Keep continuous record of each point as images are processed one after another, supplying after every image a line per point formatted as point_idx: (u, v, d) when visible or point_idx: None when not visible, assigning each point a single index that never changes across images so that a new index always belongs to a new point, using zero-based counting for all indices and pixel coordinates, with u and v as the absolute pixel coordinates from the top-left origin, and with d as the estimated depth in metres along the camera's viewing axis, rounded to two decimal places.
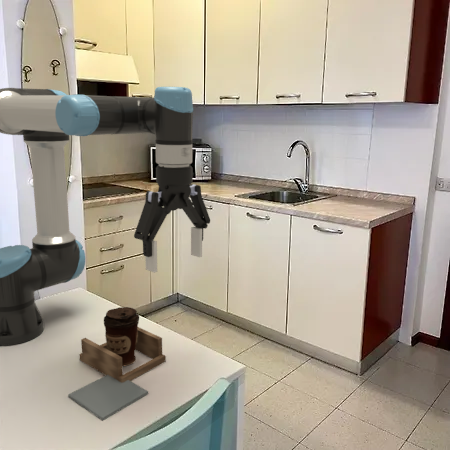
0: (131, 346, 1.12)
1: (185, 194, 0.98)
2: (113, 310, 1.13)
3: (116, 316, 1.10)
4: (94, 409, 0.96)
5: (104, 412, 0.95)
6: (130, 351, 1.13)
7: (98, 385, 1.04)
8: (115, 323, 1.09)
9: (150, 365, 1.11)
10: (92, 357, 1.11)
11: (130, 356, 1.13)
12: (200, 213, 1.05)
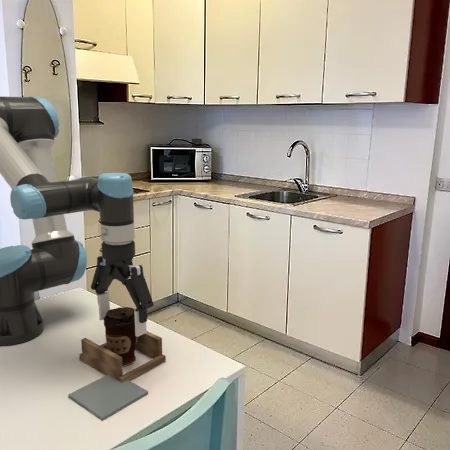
0: (131, 346, 1.12)
1: (116, 269, 1.07)
2: (113, 310, 1.13)
3: (116, 316, 1.10)
4: (94, 409, 0.96)
5: (104, 412, 0.95)
6: (130, 351, 1.13)
7: (98, 385, 1.04)
8: (115, 323, 1.09)
9: (150, 365, 1.11)
10: (92, 357, 1.11)
11: (130, 356, 1.13)
12: None
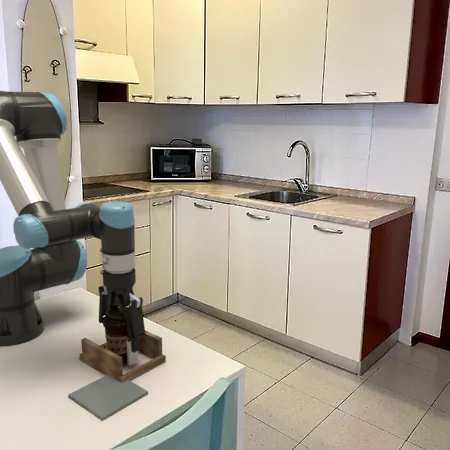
0: None
1: (117, 296, 1.09)
2: (113, 310, 1.13)
3: (116, 316, 1.10)
4: (94, 409, 0.96)
5: (104, 412, 0.95)
6: None
7: (98, 385, 1.04)
8: (115, 323, 1.08)
9: (150, 365, 1.11)
10: (92, 357, 1.11)
11: None
12: None
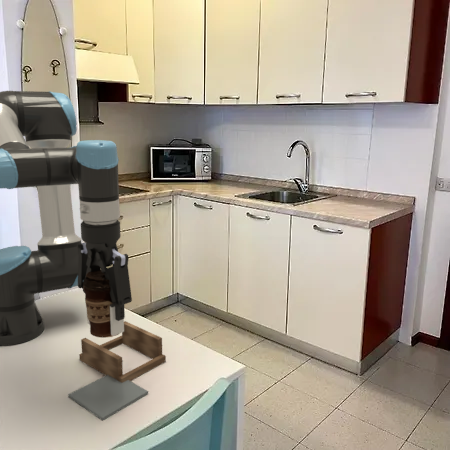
0: None
1: (97, 253, 0.91)
2: (95, 271, 0.96)
3: (98, 277, 0.93)
4: (94, 409, 0.96)
5: (104, 412, 0.95)
6: None
7: (98, 385, 1.04)
8: (96, 285, 0.91)
9: (150, 365, 1.11)
10: (92, 357, 1.11)
11: None
12: None
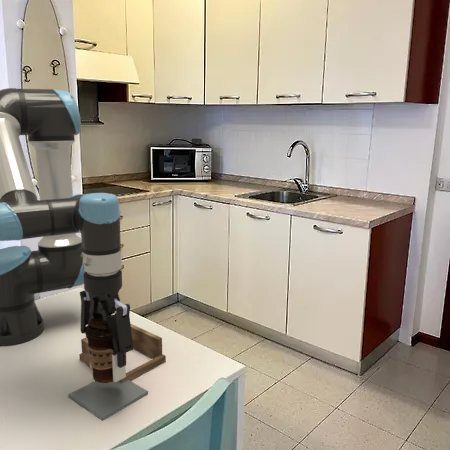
0: None
1: (100, 303, 0.94)
2: (97, 318, 0.98)
3: (100, 326, 0.95)
4: (94, 409, 0.96)
5: (104, 412, 0.95)
6: None
7: (98, 385, 1.04)
8: (98, 334, 0.93)
9: (150, 365, 1.11)
10: None
11: None
12: None
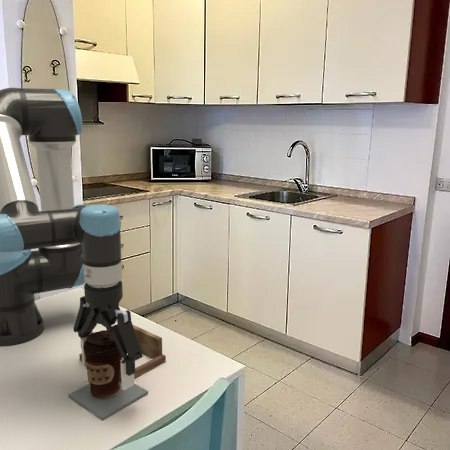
0: (114, 375, 0.99)
1: (100, 314, 0.94)
2: (95, 334, 1.00)
3: (97, 341, 0.97)
4: (94, 409, 0.96)
5: (104, 412, 0.95)
6: (114, 380, 1.00)
7: None
8: (95, 350, 0.95)
9: (150, 365, 1.11)
10: None
11: (114, 386, 1.00)
12: None
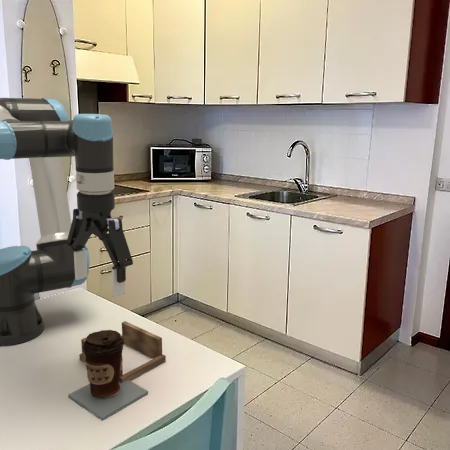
0: (114, 375, 0.99)
1: (92, 222, 0.96)
2: (94, 334, 1.00)
3: (97, 341, 0.97)
4: (94, 409, 0.96)
5: (104, 412, 0.95)
6: (113, 380, 1.00)
7: None
8: (95, 350, 0.95)
9: (150, 365, 1.11)
10: None
11: (114, 386, 1.00)
12: None
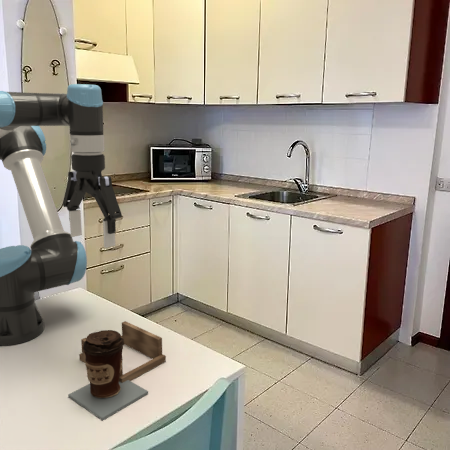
0: (114, 375, 0.99)
1: (85, 180, 1.08)
2: (94, 334, 1.00)
3: (97, 341, 0.97)
4: (94, 409, 0.96)
5: (104, 412, 0.95)
6: (113, 380, 1.00)
7: None
8: (95, 350, 0.95)
9: (150, 365, 1.11)
10: None
11: (114, 386, 1.00)
12: None
